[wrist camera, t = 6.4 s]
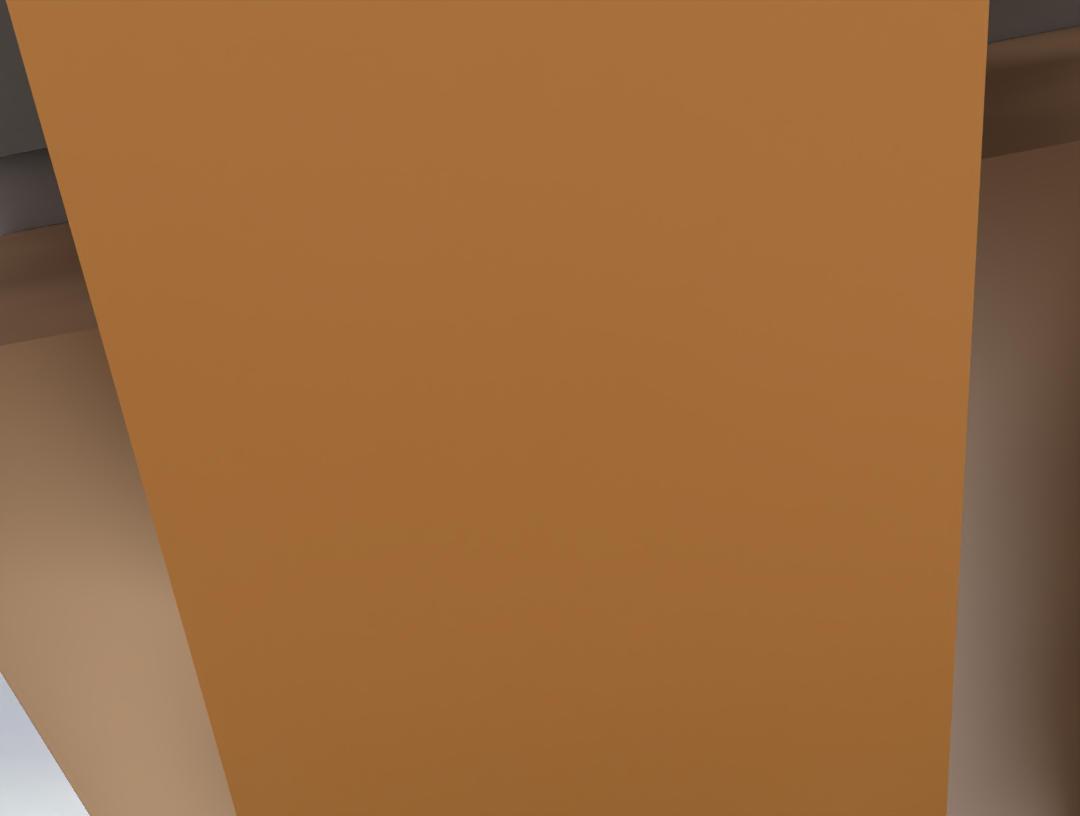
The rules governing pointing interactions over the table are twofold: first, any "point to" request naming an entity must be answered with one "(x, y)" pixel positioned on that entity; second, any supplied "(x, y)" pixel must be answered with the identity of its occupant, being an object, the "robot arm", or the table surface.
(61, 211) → the table surface
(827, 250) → the eraser orange
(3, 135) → the mat
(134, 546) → the riser
